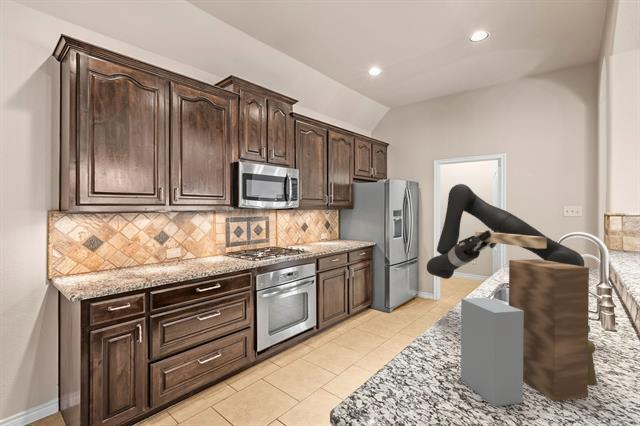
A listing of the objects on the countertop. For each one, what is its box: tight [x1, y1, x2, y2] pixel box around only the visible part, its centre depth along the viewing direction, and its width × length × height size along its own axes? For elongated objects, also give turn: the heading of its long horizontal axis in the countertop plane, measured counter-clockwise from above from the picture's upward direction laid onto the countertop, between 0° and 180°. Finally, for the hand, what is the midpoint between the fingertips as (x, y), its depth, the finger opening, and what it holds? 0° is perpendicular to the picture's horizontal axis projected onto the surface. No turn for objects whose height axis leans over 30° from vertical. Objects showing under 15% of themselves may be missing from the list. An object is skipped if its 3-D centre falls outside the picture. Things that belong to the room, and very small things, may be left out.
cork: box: [588, 339, 598, 386], centre depth 85 cm, size 6×6×11 cm
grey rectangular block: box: [460, 297, 524, 408], centre depth 79 cm, size 12×8×22 cm, turn 12°
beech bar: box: [474, 230, 548, 249], centre depth 96 cm, size 24×3×3 cm, turn 13°
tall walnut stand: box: [508, 258, 590, 402], centre depth 83 cm, size 14×10×32 cm
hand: (494, 233), depth 101 cm, fingers closed on beech bar, 3 cm apart
